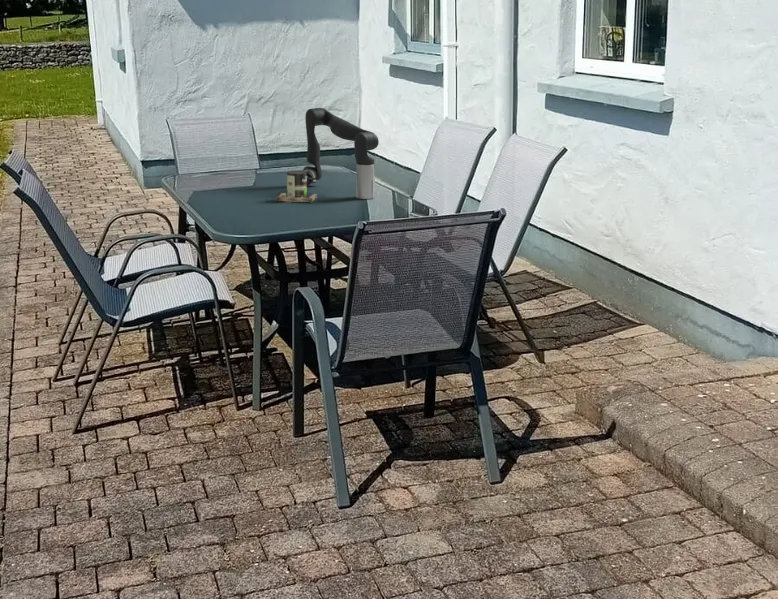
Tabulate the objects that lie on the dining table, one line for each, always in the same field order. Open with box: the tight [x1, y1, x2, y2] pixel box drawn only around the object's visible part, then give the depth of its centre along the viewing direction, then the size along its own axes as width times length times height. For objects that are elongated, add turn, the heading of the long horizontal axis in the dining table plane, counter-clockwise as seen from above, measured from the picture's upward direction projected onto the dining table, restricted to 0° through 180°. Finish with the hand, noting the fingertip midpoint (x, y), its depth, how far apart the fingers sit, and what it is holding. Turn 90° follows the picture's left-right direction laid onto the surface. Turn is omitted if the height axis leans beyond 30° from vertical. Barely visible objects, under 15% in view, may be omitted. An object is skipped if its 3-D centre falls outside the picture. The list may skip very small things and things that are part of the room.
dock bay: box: [275, 192, 318, 202], centre depth 494 cm, size 18×14×2 cm
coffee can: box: [286, 170, 308, 198], centre depth 493 cm, size 10×10×14 cm
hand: (301, 182), depth 504 cm, fingers closed
